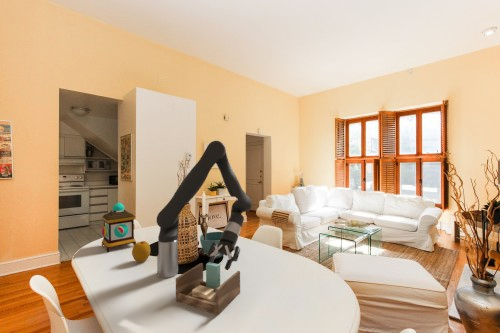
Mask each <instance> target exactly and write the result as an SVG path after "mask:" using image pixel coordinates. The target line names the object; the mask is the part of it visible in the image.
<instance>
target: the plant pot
mask: <svg viewBox="0 0 500 333" xmlns="http://www.w3.org/2000/svg"><path fill="white" fill-rule="evenodd" d="M222 234H223V231H211V232H206V240H204V237H203V234H201V235H200V236H199V242H200V246H201V248H202V250H203V252H204V254H206V256H207V257H208V258H209V257H210V256H209V255H208V251H209V249H210V247H211V245H212V243H213V242H215V244H219V242H220V238H221V236H222ZM217 248H218V247H217ZM217 248H216V249H217ZM216 249H215V250H216ZM223 256H224V255H221V254H220V255H219V256H217V257H215V258H214V259H220V258H221V257H223Z"/></svg>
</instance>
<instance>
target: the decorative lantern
mask: <svg viewBox="0 0 500 333" xmlns="http://www.w3.org/2000/svg"><path fill="white" fill-rule="evenodd" d="M101 218H102V220H103V227H102V228H101V234H102V236H103V239H102V240H101V246H102V247H105V248H106V251H107V253H110V250H111V248H116V247H120V246H125V245H131V244H132V245H133V247H134V245H135V244H136V243H137V241H136V238H135V234H134V233H135V228H136V227H135V219H136V216H135V215H134V214H133V213H131V212H129V211H127V210H126V209H125V205H124V204H122V203H121V202H117V203H116V204H115V205H113V207H112V209H111V211H109V212H108V213H105V214H103V216H102V217H101ZM103 245H104V246H103Z"/></svg>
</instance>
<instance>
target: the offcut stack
mask: <svg viewBox="0 0 500 333" xmlns="http://www.w3.org/2000/svg"><path fill="white" fill-rule="evenodd" d="M192 294H193V295H192V297H195V298H198V299H202V300H205V301H209V302H212V303H214V302H215V301H216V293H215V292H214V289H211V288H208V287H205V286H202V285H199V286H198V287H196V288H194V289H193V290H192Z"/></svg>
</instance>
